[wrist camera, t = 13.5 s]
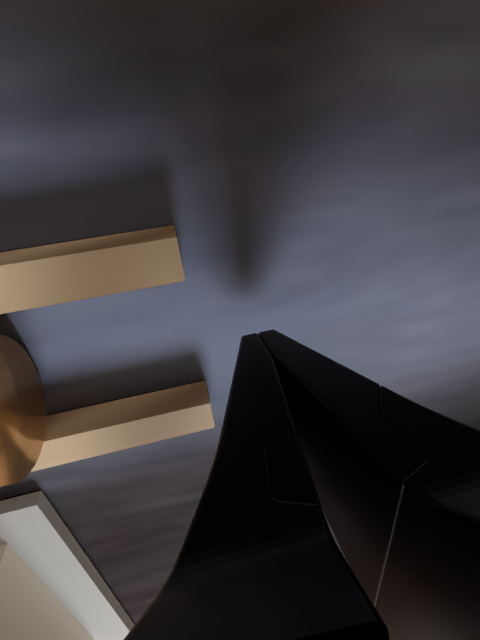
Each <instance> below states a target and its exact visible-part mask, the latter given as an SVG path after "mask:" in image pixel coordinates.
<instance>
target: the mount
mask: <svg viewBox="0 0 480 640" xmlns="http://www.w3.org/2000/svg"><path fill="white" fill-rule="evenodd" d="M182 281H185V276H184V271H183V266H182V261H181V256H180V251H179V246H178V241H177V236H176V231H175V226H174V225H171V226H165V227H158V228H152V229H146V230H139V231H133V232H127V233H120V234H114V235H108V236H101V237H95V238H88V239H82V240H76V241H69V242H63V243H57V244H50V245H44V246H38V247H31V248H25V249H19V250H12V251H6V252H0V314H4V313H10V312H15V311H21V310H26V309H32V308H38V307H43V306H49V305H54V304H60V303H65V302H71V301H76V300H82V299H87V298H93V297H99V296H104V295H110V294H115V293H121V292H126V291H132V290H137V289H143V288H148V287H154V286H160V285H165V284H171V283H176V282H182ZM210 428H215V425H214V420H213V415H212V410H211V405H210V400H209V395H208V390H207V385H206V380H205V381H201V382H196V383H192V384H187V385H183V386H178V387H174V388H169V389H165V390H160V391H156V392H151V393H147V394H142V395H138V396H133V397H129V398H124V399H120V400H115V401H111V402H106V403H102V404H97V405H93V406H88V407H84V408H79V409H75V410H70V411H66V412H61V413H57V414H52V415H48V416H46V429H45V437H44V442H43V446H42V449H41V453H40V455H39V458H38V460H37V462H36V464H35V466H34V467H33V469H32V470H31V472H33V471H37V470H41V469H45V468H49V467H53V466H57V465H62V464H66V463H70V462H74V461H78V460H82V459H86V458H91V457H95V456H99V455H103V454H107V453H111V452H115V451H119V450H124V449H128V448H132V447H136V446H140V445H144V444H148V443H153V442H157V441H161V440H165V439H169V438H173V437H177V436H181V435H186V434H190V433H194V432H198V431H202V430H206V429H210Z"/></svg>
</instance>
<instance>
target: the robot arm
mask: <svg viewBox="0 0 480 640" xmlns="http://www.w3.org/2000/svg"><path fill="white" fill-rule="evenodd" d="M322 509H323V510H322ZM323 511H324V513H325V515H326V517H327V520H328V522H329V524H330V526H331V528H332V530H333V532H334V534H335V536H336V538H337V540H338V543H339V545H340V547H341V549H342V551H343V553H344V555H345V557H346V559H347V561H348V563H349V565H350V566H349V565H348V563H347V561H346V560H345V558H344V557H343V555H342V553H341V552H340V550H339V548H338V547H337V545H336V543H335V541H334V539H333V537H332V534H331V532H330V529H329V527H328V524H327V521H326V519H325V516H324V513H323ZM124 640H480V431H479V430H477V429H474V428H472V427H470V426H467V425H465V424H463V423H460V422H458V421H456V420H453V419H451V418H449V417H446V416H444V415H442V414H440V413H437V412H435V411H433V410H431V409H428V408H426V407H424V406H421V405H419V404H417V403H415V402H413V401H411V400H409V399H407V398H405V397H403V396H401V395H399V394H397V393H395V392H393V391H391V390H389V389H387V388H385V387H384V386H380V385H379V384H378V383H376V382H374V381H372V380H370V379H368V378H366V377H364V376H362V375H360V374H358V373H356V372H354V371H352V370H351V369H349V368H347V367H345V366H343V365H341V364H339V363H337V362H335V361H333V360H331V359H329V358H327V357H325V356H324V355H322V354H320V353H318V352H316V351H314V350H312V349H310V348H308V347H306V346H304V345H302V344H300V343H299V342H297V341H295V340H293V339H291V338H289V337H287V336H285V335H283V334H281V333H279V332H277V331H275V330H268V331H263V332H260V333H259V334H256V333H254V334H249V335H245V336H242V338H241V342H240V347H239V352H238V356H237V361H236V366H235V370H234V375H233V380H232V384H231V389H230V394H229V398H228V403H227V408H226V412H225V417H224V422H223V426H222V430H221V435H220V439H219V443H218V447H217V451H216V455H215V459H214V462H213V465H212V468H211V471H210V474H209V476H208V479H207V482H206V485H205V488H204V490H203V493H202V496H201V498H200V501H199V503H198V506H197V509H196V511H195V514H194V517H193V519H192V522H191V524H190V527H189V530H188V532H187V535H186V538H185V540H184V543H183V545H182V548H181V550H180V553H179V555H178V558H177V560H176V562H175V565H174V567H173V569H172V571H171V573H170V575H169V577H168V579H167V581H166V583H165V584H164V586H163V587H162V589H161V591H160V592H159V594H158V595H157V596H156V598H155V599H154V601H153V602H152V603H151V604H150V606H149V607H148V608H147V610H146V611H145V612H144V614H143V615H142V616H141V617H140V619H139V620H138V621H137V623H136V624H135V625H134V627H133V628H132V629H131V630H130V632H129V633H128V634H127V636H126V637H125V638H124Z"/></svg>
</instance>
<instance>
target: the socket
mask: <svg viewBox="0 0 480 640" xmlns="http://www.w3.org/2000/svg"><path fill="white" fill-rule="evenodd" d="M133 627H134V623H133V622H132V621H131V619H130V618H129V616H128V615H127V613H126V612H125V611H124V609H123V608H122V606H121V605H120V603H119V602H118V600H117V599H116V598H115V596H114V595H113V593H112V592H111V590H110V589H109V587H108V586H107V585H106V583H105V582H104V580H103V579H102V577H101V576H100V574H99V573H98V572H97V570H96V569H95V567H94V566H93V564H92V563H91V561H90V560H89V559H88V557H87V556H86V554H85V553H84V551H83V550H82V548H81V547H80V546H79V544H78V543H77V541H76V540H75V538H74V537H73V536H72V534H71V533H70V531H69V530H68V528H67V527H66V525H65V524H64V523H63V521H62V520H61V518H60V517H59V515H58V514H57V512H56V511H55V510H54V508H53V507H52V505H51V504H50V502H49V501H48V499H47V498H46V497H45V495H44V494H43V492H42V491H38V492H34V493H30V494H26V495H22V496H18V497H14V498H10V499H6V500H2V501H0V640H124V638H125V637H126V636H127V634H128V633H129V632H130V630H131V629H132V628H133Z"/></svg>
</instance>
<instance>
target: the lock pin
mask: <svg viewBox="0 0 480 640" xmlns="http://www.w3.org/2000/svg"><path fill="white" fill-rule="evenodd" d="M45 429H46V406H45V398H44V392H43V388H42V384H41V380H40V377H39V375H38V372H37V369H36V367H35V365H34V363H33V361H32V360H31V358H30V356H29V355H28V353H27V352H26V351H25V350H24V348H23V347H22V346H21V345H20V344H19V343H17V342H16V341H15V340H13V339H12V338H10V337H7V336H4V335H0V487H2V486H6V485H10V484H14V483H17V482H19V481H21V480H22V479H23V478H25V477H26V476H27V475H28V474H29V473H30V472H31V470H32V469H33V467H34V466H35V464H36V462H37V460H38V458H39V455H40V453H41V449H42V446H43V442H44V437H45Z"/></svg>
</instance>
